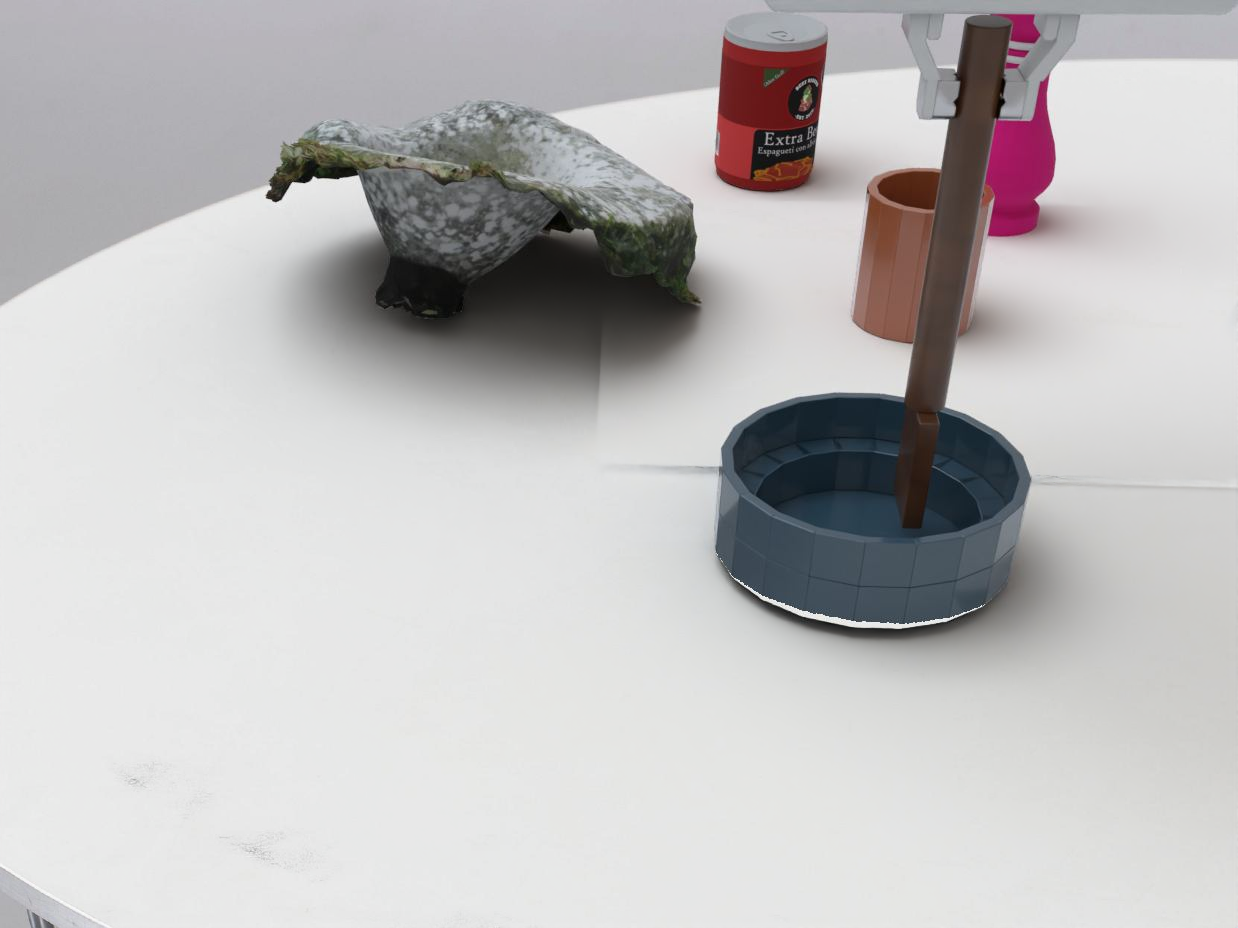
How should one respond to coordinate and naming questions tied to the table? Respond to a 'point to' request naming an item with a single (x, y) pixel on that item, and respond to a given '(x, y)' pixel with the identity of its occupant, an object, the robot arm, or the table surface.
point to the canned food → (769, 99)
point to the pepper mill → (1020, 149)
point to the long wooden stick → (949, 255)
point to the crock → (905, 253)
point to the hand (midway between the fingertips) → (973, 116)
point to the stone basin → (493, 198)
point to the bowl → (866, 510)
